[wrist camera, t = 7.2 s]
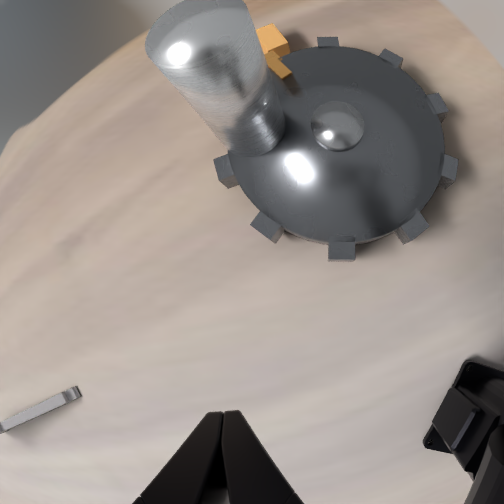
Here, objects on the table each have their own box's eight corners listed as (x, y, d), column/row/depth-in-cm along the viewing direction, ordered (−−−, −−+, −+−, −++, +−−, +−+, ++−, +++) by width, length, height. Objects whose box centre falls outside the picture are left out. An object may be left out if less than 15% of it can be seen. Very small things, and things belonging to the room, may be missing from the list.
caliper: (5, 432, 26) (-29, 444, 20) (1, 424, 26) (-33, 436, 20) (83, 395, 23) (32, 415, 16) (77, 384, 23) (25, 401, 17)
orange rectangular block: (291, 57, 20) (288, 42, 19) (272, 65, 21) (267, 50, 19) (276, 37, 21) (272, 23, 19) (258, 45, 21) (253, 30, 19)
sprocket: (486, 174, 16) (581, 98, 5) (312, 310, 18) (293, 354, 7) (344, 27, 19) (337, -87, 8) (185, 128, 21) (92, 39, 10)
